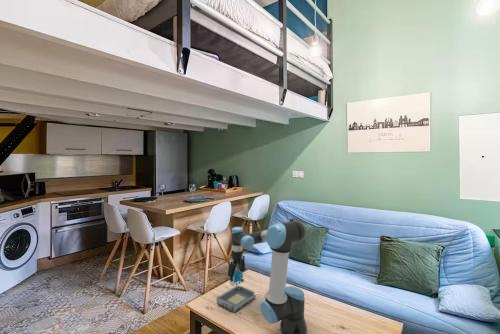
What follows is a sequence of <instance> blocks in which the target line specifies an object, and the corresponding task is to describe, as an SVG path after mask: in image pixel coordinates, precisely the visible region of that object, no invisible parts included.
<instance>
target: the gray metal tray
mask: <svg viewBox="0 0 500 334" xmlns="http://www.w3.org/2000/svg"><path fill="white" fill-rule="evenodd" d="M256 297H257V295H256V294H255V291H253V290H252V289H249V288H247V287H244V286H242V285H240V284H238V285H235V286H233V288H231V289H229V290H227V291H226V292H223V293H222V294H220V295H219V296H216V303H217V305H219V306H221V307H222V308H224V309H226V310H227V311H229V312H230V313H231V312H232V313H234V314H235V313H237V312H239V310H242V308H244V307H245V306H246V305H247V304H249V303H251V302H252V301H254V300H255V299H256ZM253 299H254V300H253Z"/></svg>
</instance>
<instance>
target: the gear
mask: <svg viewBox="0 0 500 334" xmlns="http://www.w3.org/2000/svg"><path fill="white" fill-rule="evenodd" d="M239 272H240V269H239V270H236V269H235V272H234V286H237V285H241V283H244V282H245V278H244V274H243V275H241V276H240V274H242V273H241V272H240V273H239ZM240 277H242V278H243V279H241V278H240ZM228 281H229V283H230V284H231V281H230V277H229V278H228Z"/></svg>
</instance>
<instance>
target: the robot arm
mask: <svg viewBox="0 0 500 334" xmlns="http://www.w3.org/2000/svg"><path fill="white" fill-rule="evenodd" d="M230 235H231V253H230V254H231V260H228V272H227V276H228V277H229V278H230V280H229V282H230V281H231V283H230V286H232V287H235V284H234V273H235V270H236V268H237V266H238V268H239V271H240V272H241V273H242V274H240V276H241V275H243V276H244V272H245V270H246V263H245V255H243V248H245V249H251V248H252V247H254V245H258V244H263V243H267V245H268V246H269V249H270V250H271V251H272V253H271V254H272V255H271V261H270V263H271V264H270V275H269V287H268V291H266V292H265V297H264V300H262V301H260V304H259V305H260V306H259V307H260V312H261V314H262V315H261V316H262V317H263V319H264V320H265V321H266V323H268V324H270V325H273V324H277V323H278V322H280V324H279V326H280V331H281V333H282V334H307V332H308V327H307V323H306V318H305V301H306V300H305V299H306V298H305V292H304V291H303V290H302V289H301V288H298V287H297V286H296V287H295V286H286V285H287V275H288V266H289V265H288V264H289V257H290V255H289V254H290V253H292V251H293V245H294V244H298V243H301V242H302V241H303V240H304V239H305V238H306V235H307V230H306V227H305V225H304V224H303V223H302V222H300V221H298V220H291V221H287V222H286V221H285V222H279V223H275V224H272V225H270V226H269V227H268V228H267V229H265V230H260V231H255V232H250V233H245V232H244V229H243V227H242V226H235V227H232V228H231V233H230ZM240 272H239V273H240ZM239 273H238V274H239ZM240 278H241V279H244V277H243V278H242V277H240Z"/></svg>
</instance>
